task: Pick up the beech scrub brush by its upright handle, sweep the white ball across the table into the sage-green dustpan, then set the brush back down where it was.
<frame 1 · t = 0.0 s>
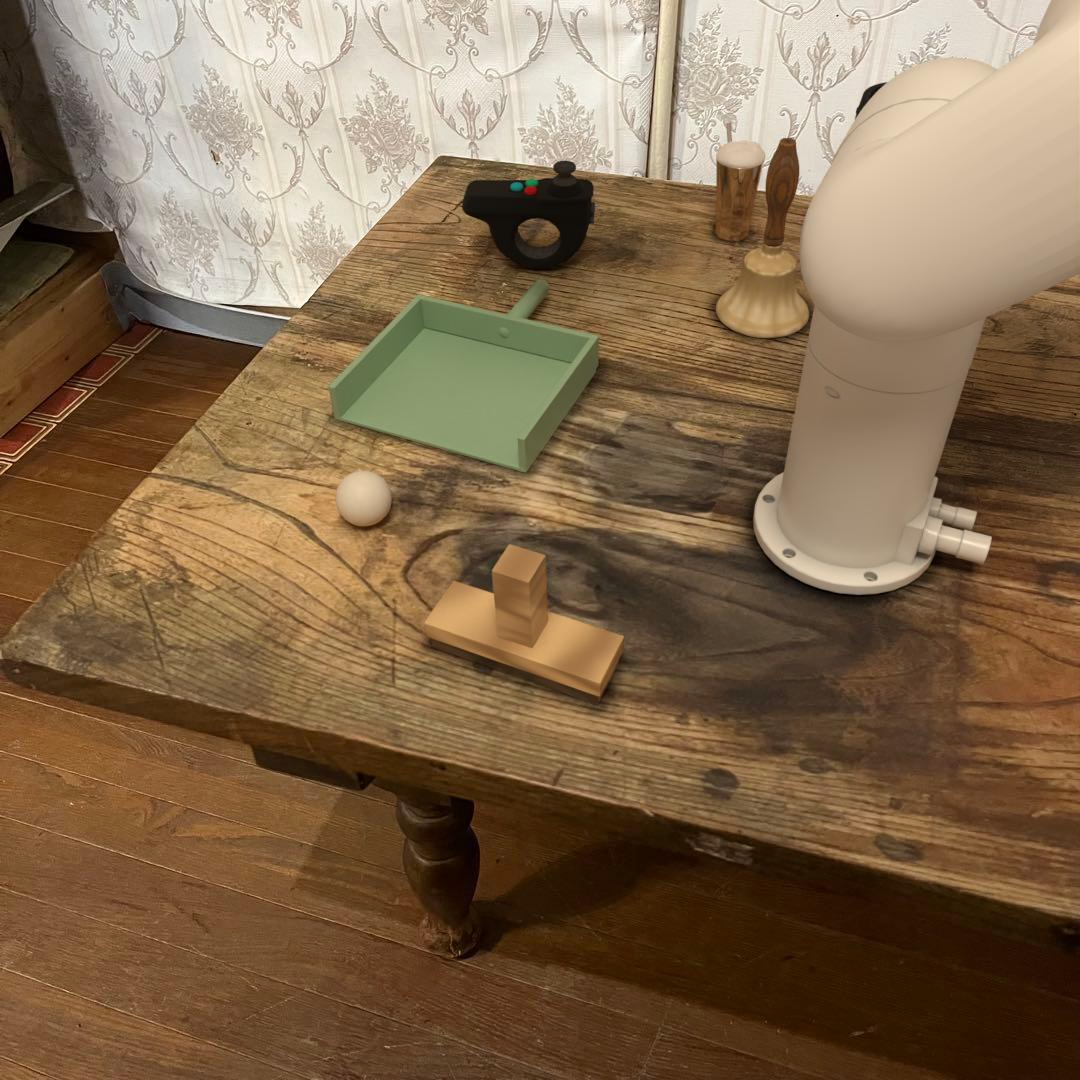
coffee cup: (874, 250, 101), on the table
hand bell: (761, 314, 93), on the table
white ball: (363, 498, 74), point 2 cm above the table
controller: (530, 265, 101), on the table
dustpan: (468, 395, 86), on the table
brush: (524, 655, 66), on the table
milkshake: (729, 233, 104), on the table
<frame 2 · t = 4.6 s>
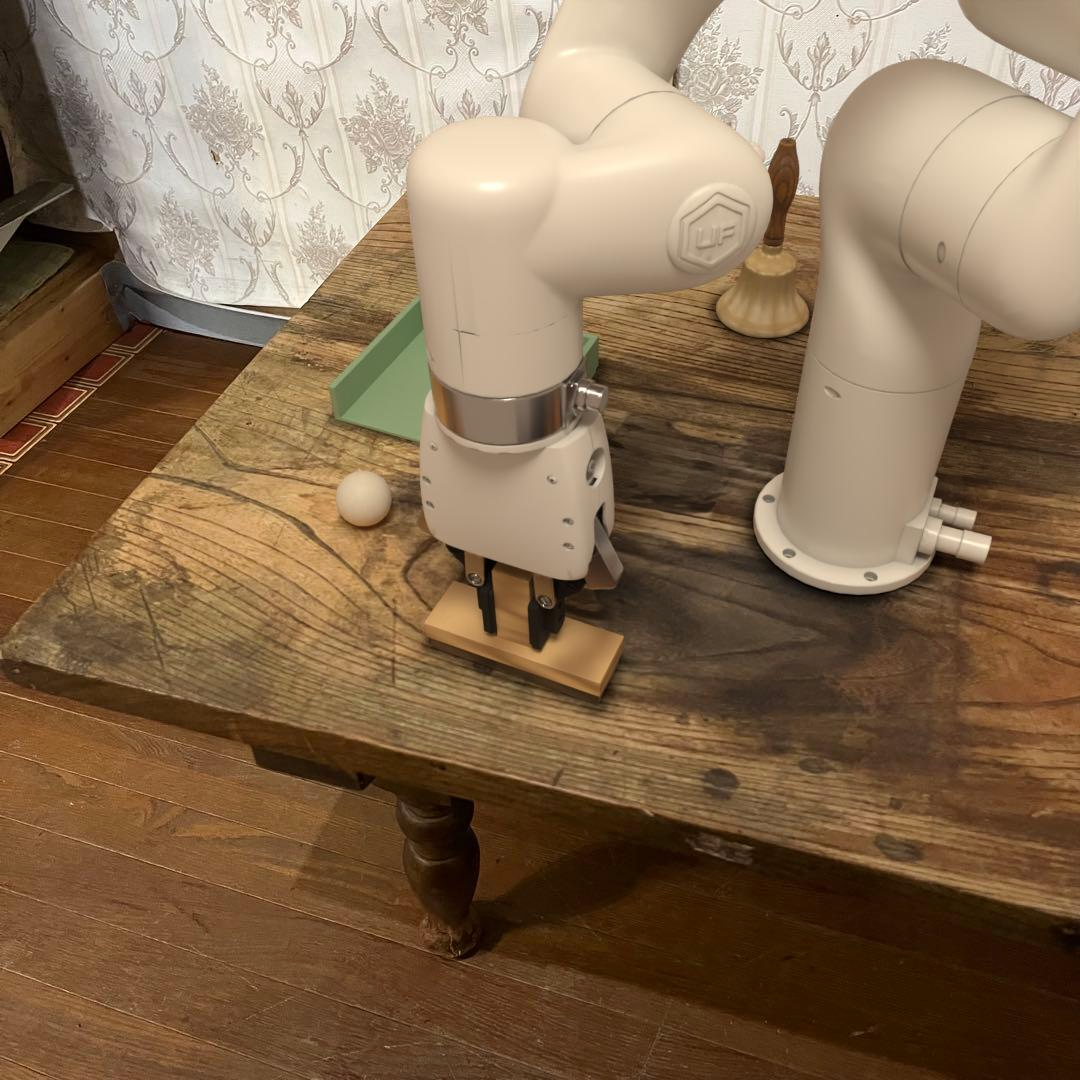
hand: (522, 623, 64), 3 cm above the table, tool pointing down, fingers closed on brush, 2 cm apart
brush: (524, 655, 66), on the table, touching gripper
everything else where it was.
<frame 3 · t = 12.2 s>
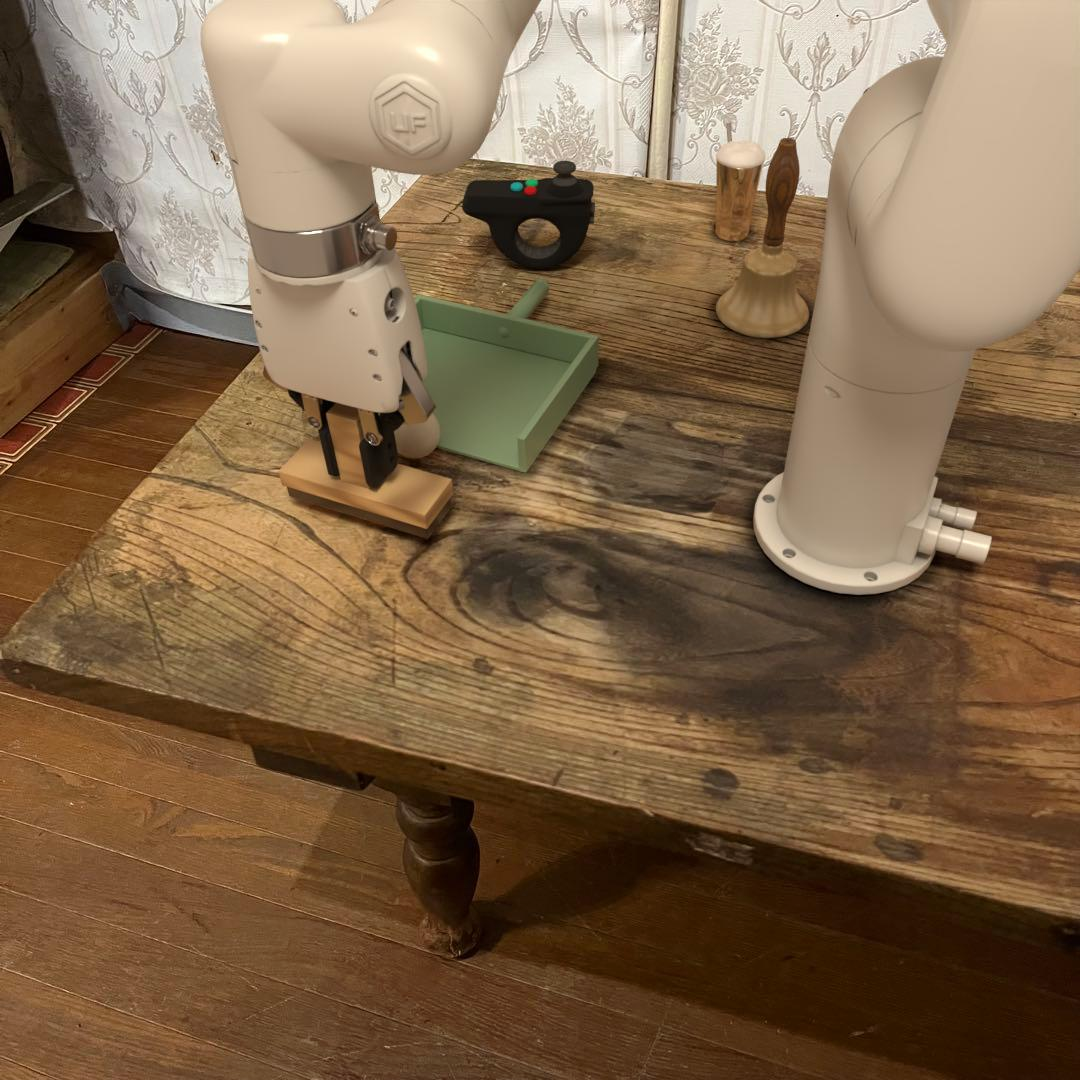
hand: (363, 468, 73), 4 cm above the table, tool pointing down, fingers closed on brush, 2 cm apart
white ball: (414, 432, 79), point 2 cm above the table, tilted 140°, touching dustpan
brush: (369, 501, 75), point 1 cm above the table, touching gripper
everything else where it was.
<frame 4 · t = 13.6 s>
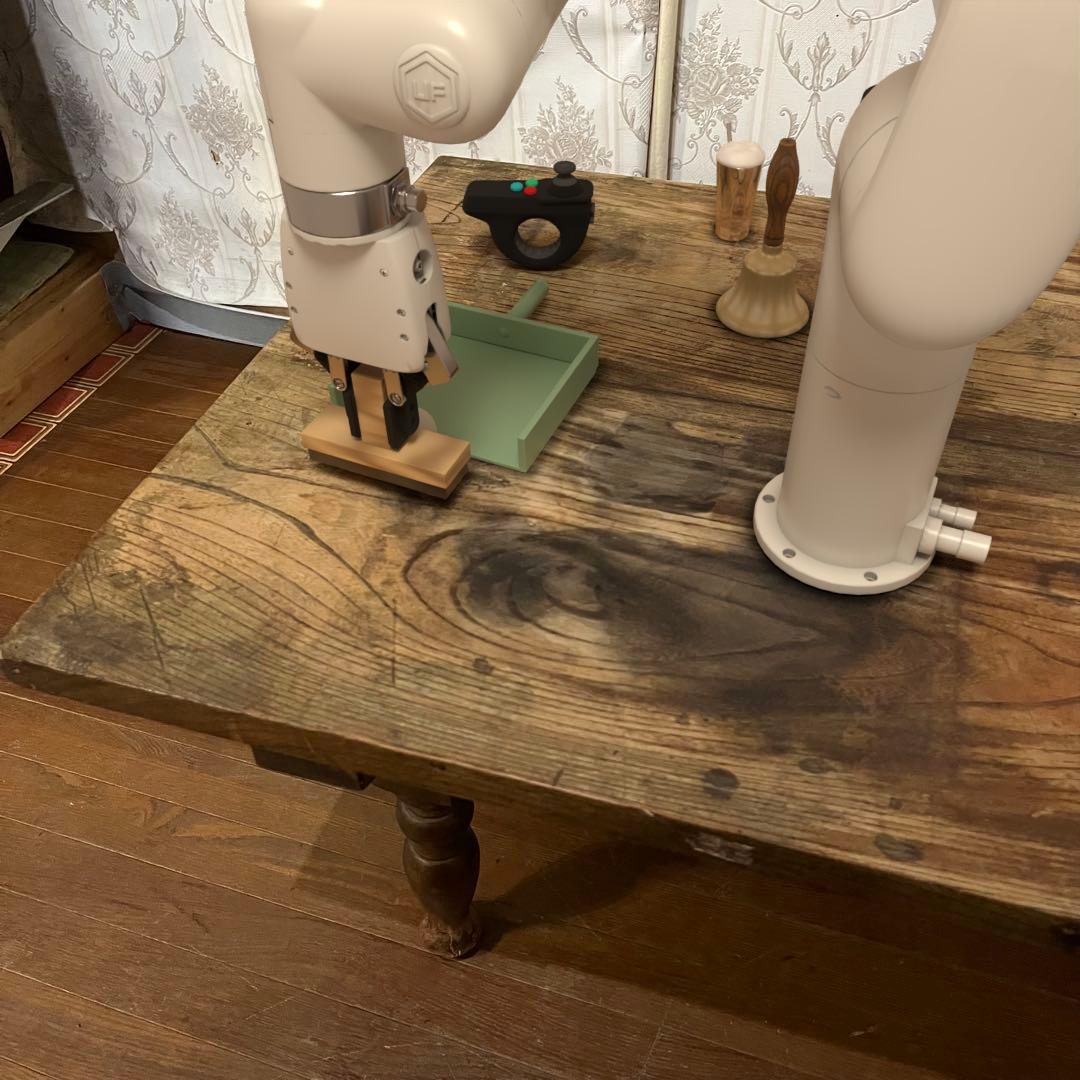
hand: (384, 430, 75), 5 cm above the table, tool pointing down, fingers closed on brush, 2 cm apart
white ball: (410, 432, 80), point 2 cm above the table, tilted 176°, touching brush, dustpan
brush: (388, 464, 77), point 2 cm above the table, touching gripper, white ball
everything else where it was.
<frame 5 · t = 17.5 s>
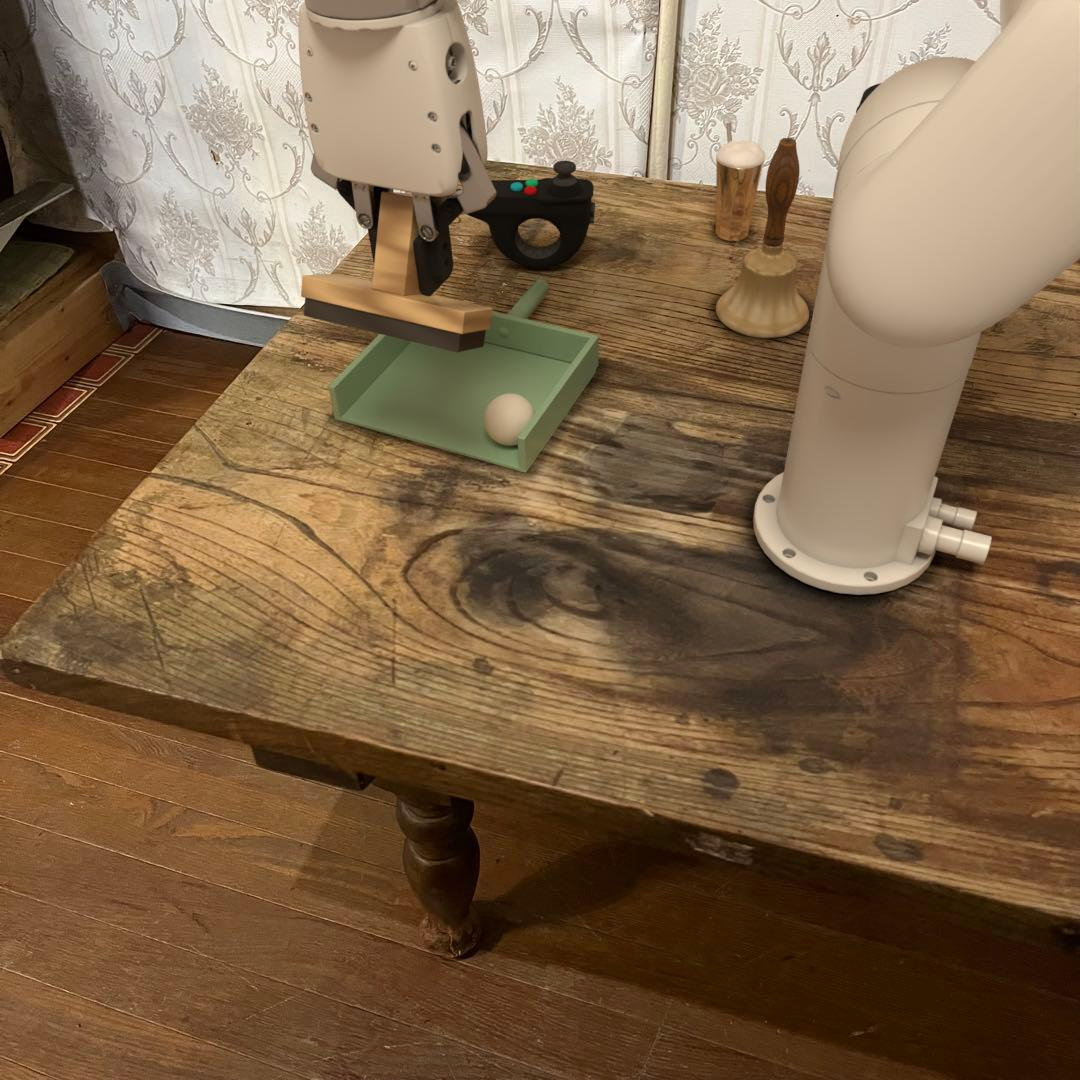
hand: (415, 278, 69), 16 cm above the table, tool pointing down, fingers closed on brush, 2 cm apart
white ball: (510, 419, 80), point 2 cm above the table, tilted 53°, touching dustpan
brush: (393, 331, 68), point 14 cm above the table, tilted 27°, touching gripper
everything else where it was.
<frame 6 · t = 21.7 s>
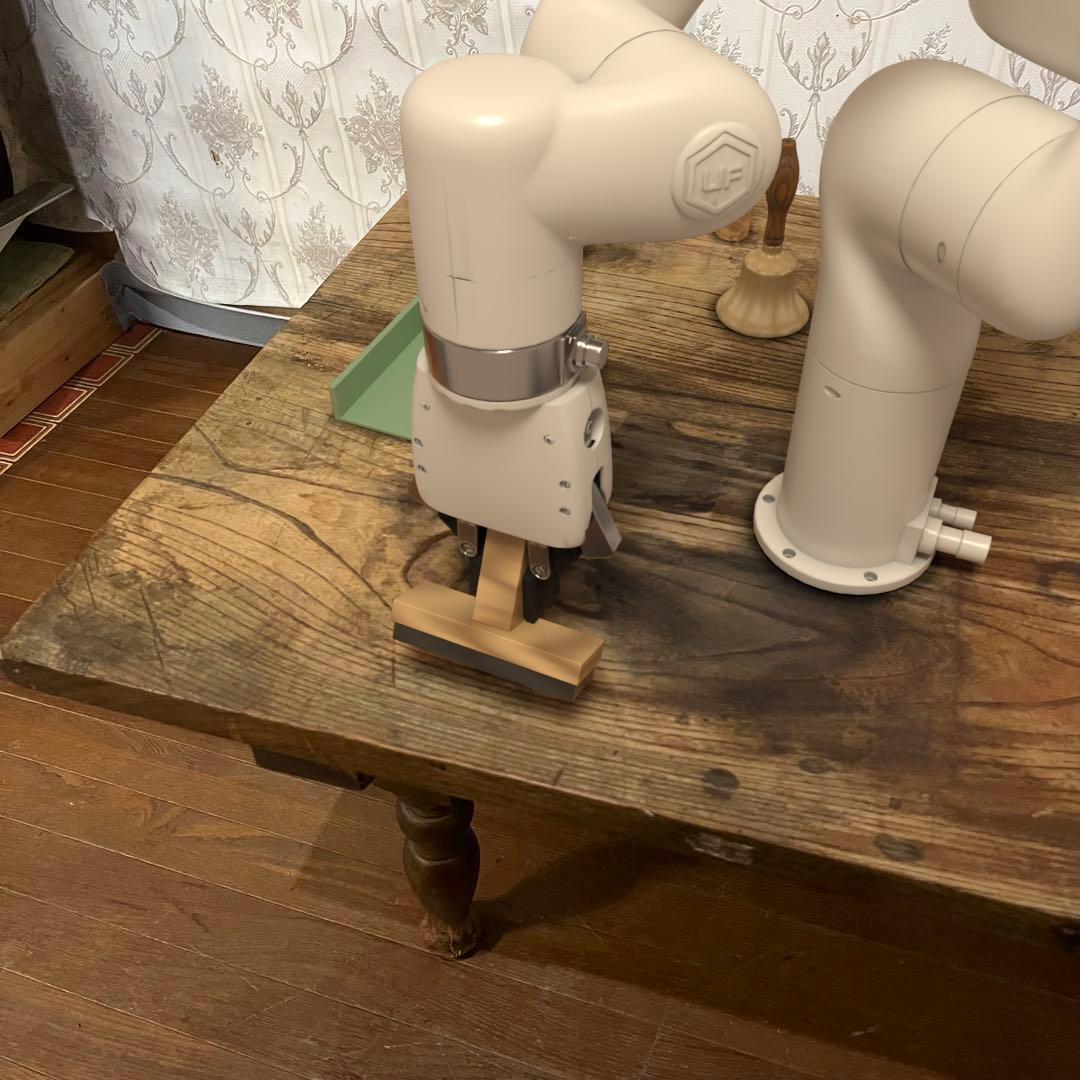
hand: (516, 596, 62), 6 cm above the table, tool pointing down, fingers closed on brush, 2 cm apart
white ball: (458, 405, 81), point 2 cm above the table, tilted 78°, touching dustpan
brush: (492, 658, 61), point 4 cm above the table, tilted 28°, touching gripper
everything else where it was.
when the fingers open (3 cm above the table, at t = 22.8 s): brush stays where it is, on the table.
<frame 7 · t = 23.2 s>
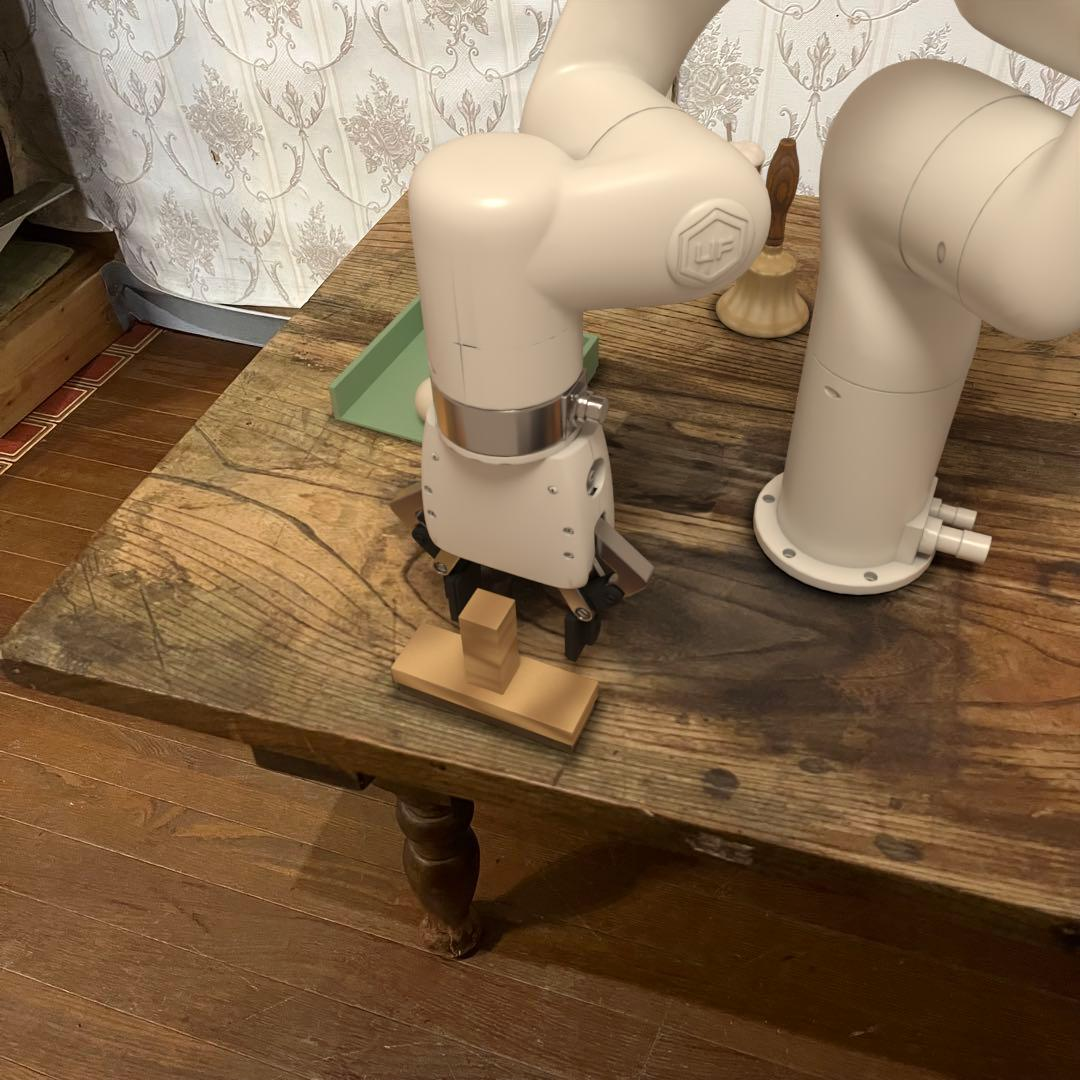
hand: (523, 623, 64), 3 cm above the table, tool pointing down, fingers open, 7 cm apart
white ball: (439, 400, 82), point 2 cm above the table, tilted 124°, touching dustpan
brush: (496, 699, 64), on the table
everything else where it was.
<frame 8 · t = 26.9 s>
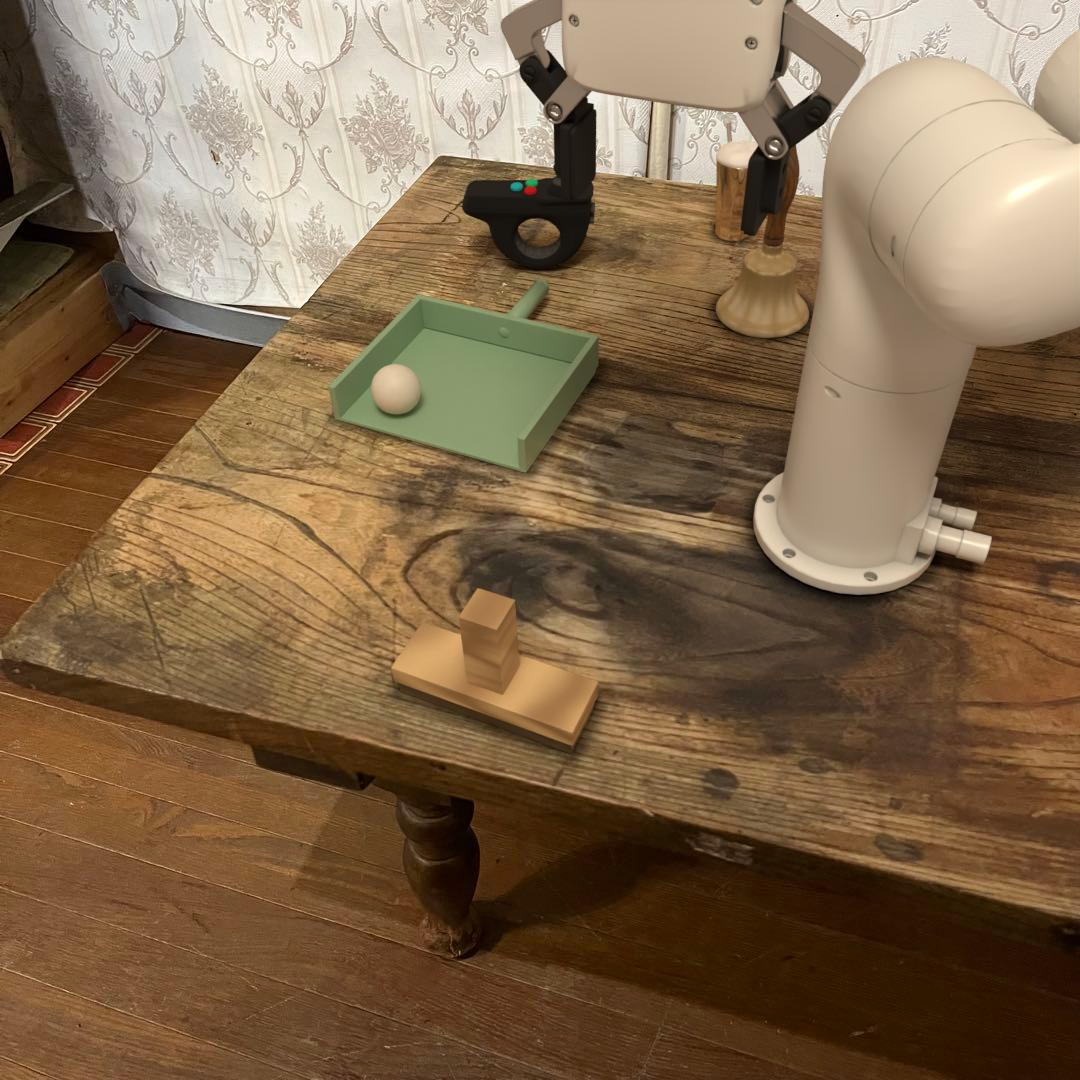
hand: (664, 205, 53), 26 cm above the table, tool pointing down, fingers open, 9 cm apart
white ball: (396, 389, 83), point 2 cm above the table, tilted 120°, touching dustpan
everything else where it was.
at the end: white ball inside the target area in the dustpan (6.0 cm from its centre), point 2.3 cm above the dustpan's base; the gripper is holding nothing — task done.
